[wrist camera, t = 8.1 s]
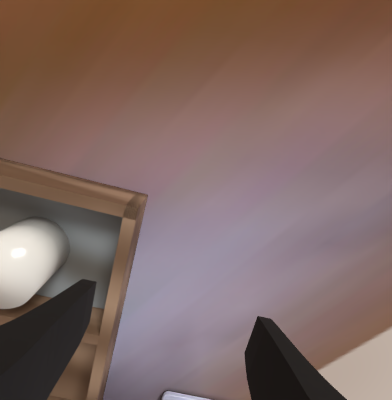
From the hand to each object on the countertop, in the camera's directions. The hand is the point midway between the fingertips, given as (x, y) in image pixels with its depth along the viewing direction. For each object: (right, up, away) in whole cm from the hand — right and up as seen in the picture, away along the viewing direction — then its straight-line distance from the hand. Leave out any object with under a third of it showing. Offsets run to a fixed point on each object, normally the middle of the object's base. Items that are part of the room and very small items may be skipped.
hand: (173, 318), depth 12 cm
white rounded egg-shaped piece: (-10, +2, +8) cm, 14 cm away
